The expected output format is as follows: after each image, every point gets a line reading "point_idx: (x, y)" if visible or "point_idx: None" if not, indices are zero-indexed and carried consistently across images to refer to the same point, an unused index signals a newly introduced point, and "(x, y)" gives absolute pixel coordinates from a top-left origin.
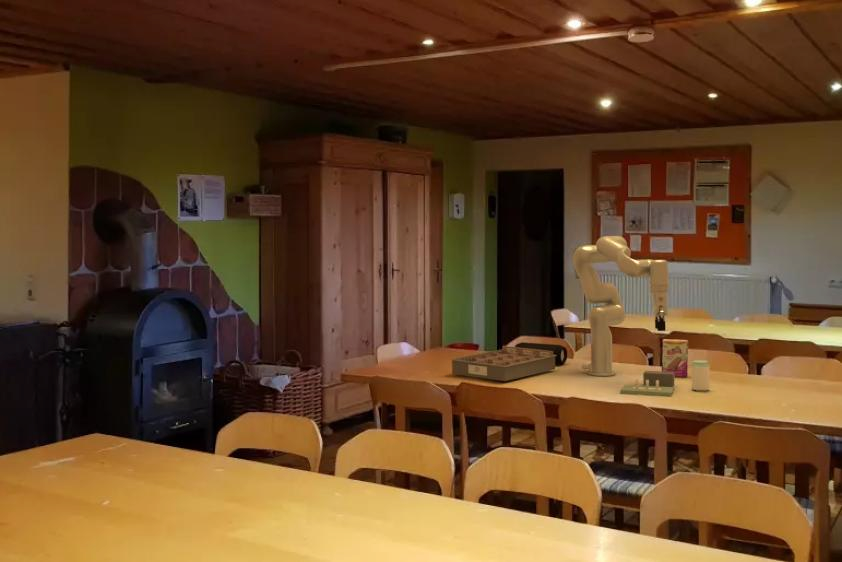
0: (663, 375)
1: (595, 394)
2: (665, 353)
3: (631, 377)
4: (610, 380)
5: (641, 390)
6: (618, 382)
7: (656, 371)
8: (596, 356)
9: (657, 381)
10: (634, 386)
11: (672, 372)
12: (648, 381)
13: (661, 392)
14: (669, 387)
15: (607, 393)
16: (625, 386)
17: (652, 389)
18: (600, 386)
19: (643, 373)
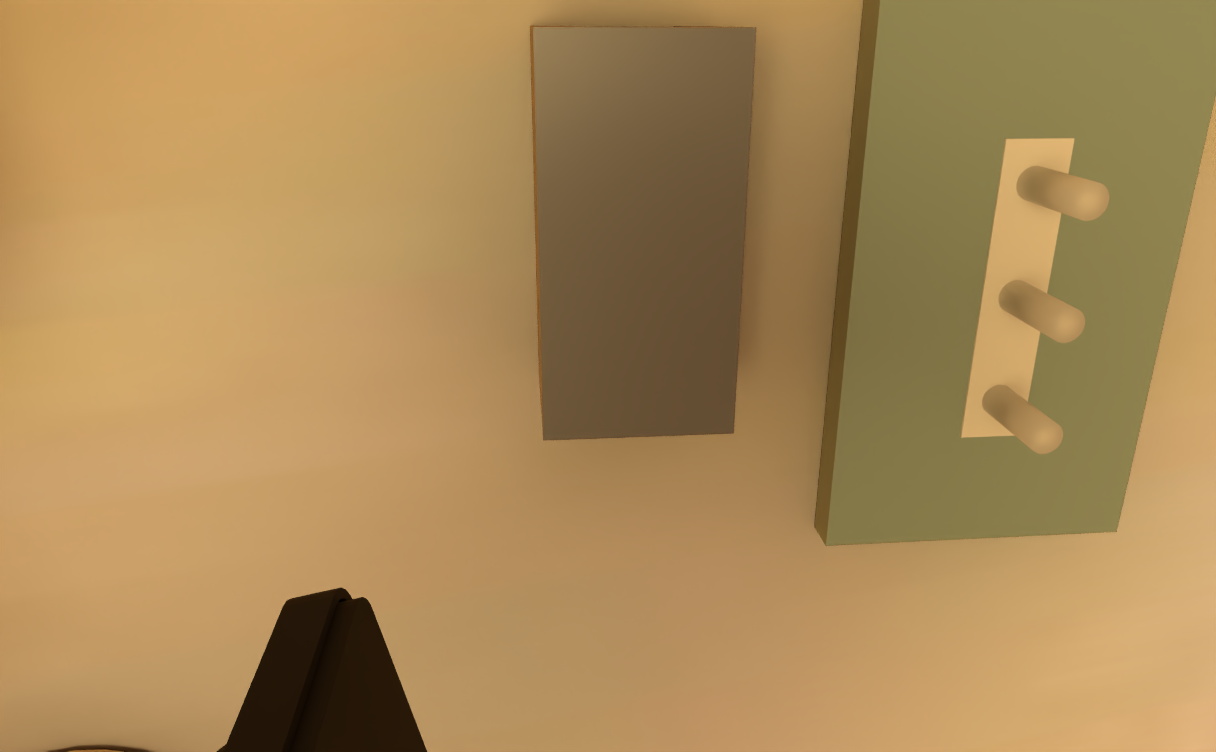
0: (744, 166)
1: (1153, 684)
2: None
3: (164, 576)
4: (437, 719)
5: (1129, 336)
6: (521, 634)
7: (560, 292)
8: None
9: (1103, 196)
10: (917, 439)
11: (576, 52)
12: (1070, 305)
13: (1208, 112)
14: (911, 50)
15: (1100, 610)
16: (933, 519)
17: (1062, 232)
18: (779, 728)
19: (731, 430)
